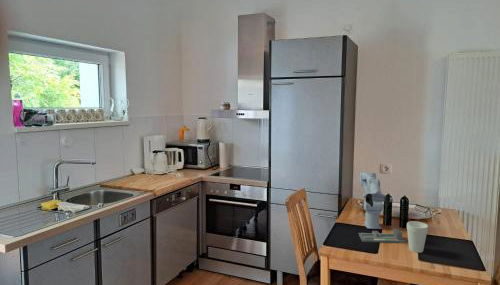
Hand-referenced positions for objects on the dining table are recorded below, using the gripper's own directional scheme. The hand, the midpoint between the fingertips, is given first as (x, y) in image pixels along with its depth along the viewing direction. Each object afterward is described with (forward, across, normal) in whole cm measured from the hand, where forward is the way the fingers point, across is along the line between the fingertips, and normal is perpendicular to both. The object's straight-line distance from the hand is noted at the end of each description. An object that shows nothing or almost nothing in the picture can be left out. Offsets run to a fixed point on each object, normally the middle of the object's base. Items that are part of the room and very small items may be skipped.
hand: (379, 206), depth 181 cm
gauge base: (+2, +4, +18) cm, 19 cm away
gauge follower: (+4, +1, +17) cm, 18 cm away
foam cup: (+14, +18, +14) cm, 27 cm away
